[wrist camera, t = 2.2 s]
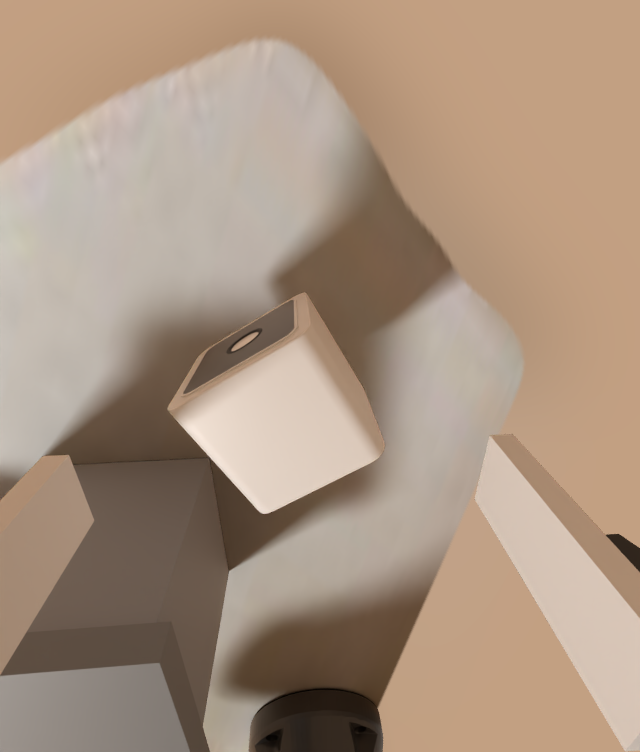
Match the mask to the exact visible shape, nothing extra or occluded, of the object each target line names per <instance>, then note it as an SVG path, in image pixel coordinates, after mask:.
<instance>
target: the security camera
mask: <svg viewBox="0 0 640 752" xmlns="http://www.w3.org/2000/svg"><path fill="white" fill-rule="evenodd" d="M167 410H168V412H169V413H170V414H171V415H172V416H173V417H174V418H175V419H176V421H177V422H178V423H179V424H180V425H181V426H182V427H183V428H184V429H185V430H186V432H187V433H188V434H189V435H190V436H191V437H192V438H193V439H194V440H195V441H196V443H197V444H198V445H199V446H200V447H201V448H202V449H203V450H204V451H205V452H206V454H207V455H208V456H209V457H210V458H211V459H212V460H213V461H214V462H215V464H216V465H217V466H218V467H219V468H220V469H221V470H222V471H223V472H224V473H225V475H226V476H227V477H228V478H229V479H230V480H231V481H232V482H233V483H234V484H235V486H236V487H237V488H238V489H239V490H240V491H241V492H242V493H243V494H244V496H245V497H246V498H247V499H248V500H249V501H250V502H251V503H252V504H253V505H254V507H255V508H256V509H257V510H258V511H259V512H260V513H263V514H267V513H270V512H273V511H275V510H277V509H279V508H281V507H283V506H285V505H287V504H289V503H291V502H293V501H295V500H297V499H299V498H301V497H303V496H305V495H307V494H309V493H311V492H313V491H315V490H317V489H319V488H321V487H323V486H325V485H327V484H329V483H331V482H333V481H335V480H337V479H340V478H342V477H344V476H346V475H348V474H350V473H352V472H354V471H356V470H358V469H360V468H362V467H364V466H366V465H368V464H370V463H372V462H373V461H375V460H377V459H378V458H379V457H380V456H381V454H382V453H383V451H384V448H385V443H384V440H383V437H382V435H381V432H380V429H379V427H378V424H377V422H376V419H375V417H374V414H373V411H372V409H371V406H370V404H369V401H368V398H367V396H366V393H365V391H364V389H363V387H362V385H361V384H360V382H359V380H358V379H357V377H356V375H355V374H354V372H353V370H352V368H351V367H350V365H349V363H348V362H347V360H346V358H345V357H344V355H343V353H342V352H341V350H340V348H339V347H338V345H337V343H336V342H335V340H334V338H333V337H332V335H331V333H330V332H329V330H328V328H327V326H326V325H325V323H324V321H323V320H322V318H321V316H320V315H319V313H318V311H317V310H316V308H315V306H314V305H313V303H312V301H311V300H310V298H309V296H308V295H307V293H300V294H298V295H296V296H294V297H292V298H291V299H289V300H287V301H286V302H284V303H282V304H281V305H279V306H277V307H276V308H274V309H272V310H271V311H269V312H267V313H266V314H264V315H262V316H261V317H259V318H257V319H256V320H254V321H252V322H251V323H249V324H247V325H246V326H244V327H242V328H240V329H239V330H237V331H235V332H234V333H232V334H230V335H229V336H227V337H225V338H224V339H222V340H220V341H219V342H217V343H215V344H214V345H212V346H211V347H209V348H208V349H206V350H205V351H204V352H203V353H201V354H200V355H199V357H198V358H197V359H196V361H195V363H194V364H193V366H192V368H191V369H190V371H189V373H188V374H187V376H186V378H185V379H184V381H183V383H182V384H181V386H180V388H179V389H178V391H177V393H176V394H175V396H174V397H173V399H172V401H171V402H170V404H169V406H168V408H167Z"/></svg>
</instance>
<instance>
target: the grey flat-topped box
mask: <svg viewBox="0 0 640 752" xmlns="http://www.w3.org/2000/svg"><path fill="white" fill-rule="evenodd" d="M73 466H74V469H75V472H76V474H77V477H78V479H79V482H80V485H81V487H82V490H83V492H84V495H85V498H86V500H87V503H88V505H89V508H90V510H91V513H92V516H93V518H94V522H93V524H92V525H91V527H90V529H89V530H88V532H87V534H86V535H85V537H84V539H83V540H82V542H81V543H80V545H79V547H78V548H77V550H76V552H75V553H74V555H73V557H72V558H71V560H70V561H69V563H68V565H67V566H66V568H65V570H64V571H63V573H62V575H61V576H60V578H59V580H58V581H57V583H56V584H55V586H54V588H53V589H52V591H51V593H50V594H49V596H48V598H47V599H46V601H45V602H44V604H43V606H42V607H41V609H40V611H39V612H38V614H37V616H36V617H35V619H34V620H33V622H32V624H31V625H30V627H29V629H28V630H27V632H26V634H25V635H24V637H23V639H22V640H21V642H20V643H19V645H18V647H17V648H16V650H15V652H14V653H13V655H12V657H11V658H10V660H9V661H8V663H7V665H6V666H5V668H4V670H3V671H2V673H1V675H0V752H210V750H209V747H208V744H207V740H206V737H205V733H204V730H203V721H204V715H205V709H206V703H207V697H208V691H209V686H210V680H211V674H212V668H213V662H214V656H215V650H216V644H217V638H218V633H219V627H220V621H221V615H222V609H223V603H224V597H225V591H226V585H227V580H228V574H229V570H228V564H227V558H226V553H225V547H224V541H223V535H222V529H221V523H220V517H219V512H218V506H217V500H216V494H215V488H214V482H213V477H212V471H211V465H210V459H209V458H197V459H178V460H158V461H138V462H119V463H99V464H79V465H73Z"/></svg>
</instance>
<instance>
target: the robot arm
mask: <svg viewBox="0 0 640 752" xmlns="http://www.w3.org/2000/svg"><path fill="white" fill-rule="evenodd" d="M475 501H476V502H477V504H478V506H479V507H480V509H481V511H482V512H483V514H484V516H485V517H486V519H487V521H488V522H489V524H490V525H491V527H492V529H493V531H494V532H495V534H496V536H497V537H498V539H499V541H500V542H501V544H502V546H503V547H504V549H505V551H506V552H507V554H508V556H509V557H510V559H511V561H512V563H513V564H514V566H515V568H516V569H517V571H518V573H519V574H520V576H521V578H522V579H523V581H524V583H525V584H526V586H527V588H528V589H529V591H530V593H531V594H532V596H533V598H534V599H535V601H536V603H537V604H538V606H539V608H540V609H541V611H542V613H543V614H544V616H545V618H546V619H547V621H548V623H549V625H550V626H551V628H552V630H553V631H554V633H555V635H556V636H557V638H558V639H559V641H560V643H561V645H562V646H563V648H564V650H565V651H566V653H567V655H568V656H569V658H570V660H571V661H572V663H573V664H574V666H575V668H576V670H577V671H578V673H579V675H580V676H581V678H582V680H583V681H584V683H585V685H586V686H587V688H588V690H589V691H590V693H591V695H592V696H593V698H594V700H595V702H596V703H597V705H598V707H599V708H600V710H601V712H602V713H603V715H604V717H605V718H606V720H607V722H608V723H609V725H610V727H611V728H612V730H613V732H614V733H615V735H616V737H617V738H618V740H619V742H620V743H621V745H622V747H623V748H624V750H625V751H635V750H640V548H639V547H637V546H636V545H634V544H633V543H631V542H630V541H628V540H627V539H625V538H624V537H622V536H621V535H619V534H610V535H605V534H604V533H603V532H602V531H601V530H600V529H599V528H598V526H597V525H596V524H595V523H594V522H593V521H592V520H591V519H590V518H589V517H588V515H587V514H586V513H585V512H584V511H583V510H582V509H581V508H580V507H579V506H578V505H577V504H576V502H575V501H573V499H572V498H571V497H570V496H569V495H568V494H567V493H566V492H565V490H564V489H563V488H562V487H561V486H560V485H559V484H558V483H557V482H556V481H555V480H554V479H553V477H552V476H551V475H550V474H549V473H548V472H547V471H546V470H545V469H544V468H543V467H542V465H540V463H539V462H538V461H537V460H536V459H535V458H534V457H533V456H532V455H531V453H530V452H529V451H528V450H527V449H526V448H525V447H524V446H523V445H522V444H521V443H520V441H518V439H517V438H516V437H515V436H514V435H513V434H504V435H490V436H489V441H488V445H487V449H486V453H485V458H484V462H483V466H482V470H481V474H480V479H479V483H478V487H477V491H476V496H475ZM93 522H94V518H93V516H92V513H91V510H90V508H89V505H88V503H87V500H86V498H85V495H84V492H83V490H82V487H81V485H80V482H79V479H78V477H77V474H76V472H75V469H74V466H73V464H72V461H71V459H70V456H69V455H56V456H42V457H41V459H40V460H39V461H38V462H37V463H36V464H35V465H34V466H33V467H32V468H31V469H30V470H29V471H28V472H27V473H26V474H25V475H24V476H23V477H22V478H21V479H20V480H19V481H18V483H17V484H16V485H15V486H14V487H13V488H12V489H11V490H10V491H9V492H8V493H7V494H6V495H5V496H4V497H3V498H2V499H1V500H0V675H1V673H2V671H3V670H4V668H5V666H6V665H7V663H8V661H9V660H10V658H11V657H12V655H13V653H14V652H15V650H16V648H17V647H18V645H19V643H20V642H21V640H22V639H23V637H24V635H25V634H26V632H27V630H28V629H29V627H30V625H31V624H32V622H33V620H34V619H35V617H36V616H37V614H38V612H39V611H40V609H41V607H42V606H43V604H44V602H45V601H46V599H47V598H48V596H49V594H50V593H51V591H52V589H53V588H54V586H55V584H56V583H57V581H58V580H59V578H60V576H61V575H62V573H63V571H64V570H65V568H66V566H67V565H68V563H69V561H70V560H71V558H72V557H73V555H74V553H75V552H76V550H77V548H78V547H79V545H80V543H81V542H82V540H83V539H84V537H85V535H86V534H87V532H88V530H89V529H90V527H91V525H92V524H93ZM382 749H383V733H382V728H381V722H380V716H379V712H378V709H377V708H376V706H375V705H374V704H373V703H372V702H371V701H369V700H368V699H366V698H364V697H362V696H360V695H357V694H354V693H350V692H345V691H338V690H313V691H306V692H300V693H296V694H292V695H288V696H285V697H283V698H280V699H278V700H276V701H274V702H272V703H270V704H268V705H267V706H265V707H264V708H262V709H261V710H260V711H259V712H258V713H257V714H256V715H255V717H254V718H253V720H252V722H251V727H250V740H249V752H382V751H383V750H382Z"/></svg>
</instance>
